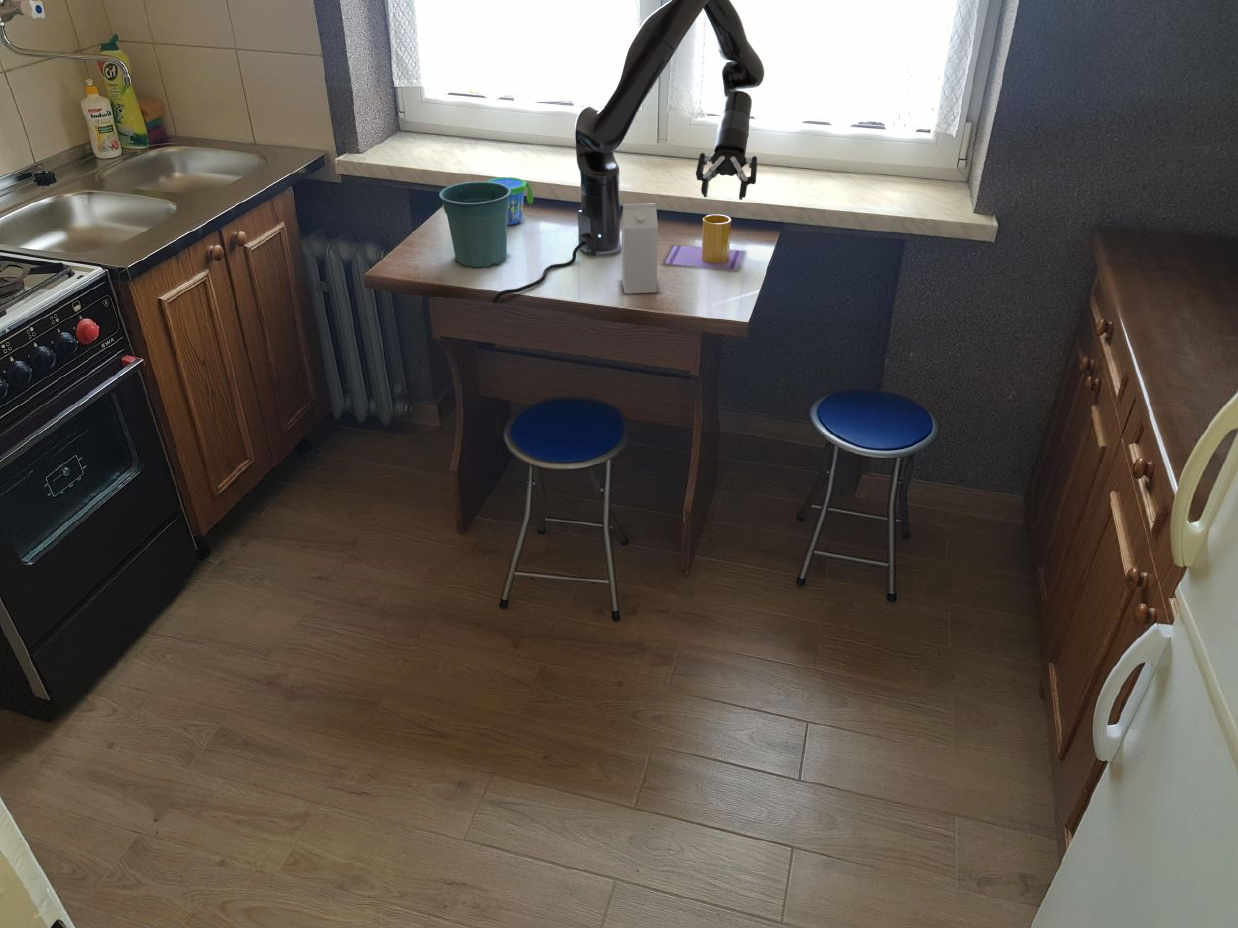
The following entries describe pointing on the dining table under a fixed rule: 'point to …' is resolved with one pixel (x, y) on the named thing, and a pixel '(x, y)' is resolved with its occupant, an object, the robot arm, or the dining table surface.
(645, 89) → the robot arm
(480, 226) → the flower pot
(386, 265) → the dining table surface
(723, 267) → the cloth
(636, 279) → the milk carton
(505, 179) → the snack cup
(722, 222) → the tumbler
